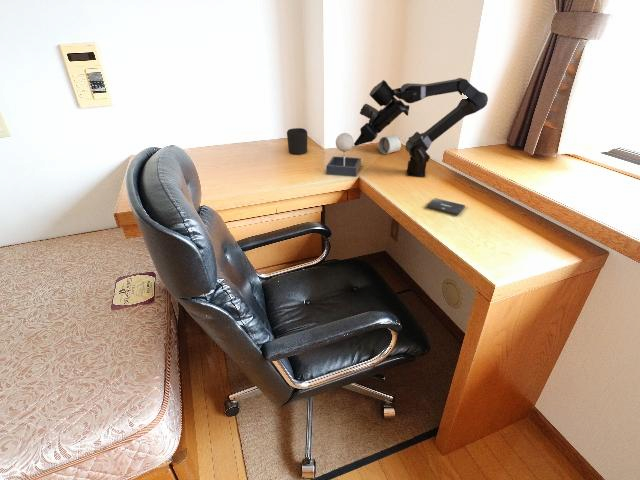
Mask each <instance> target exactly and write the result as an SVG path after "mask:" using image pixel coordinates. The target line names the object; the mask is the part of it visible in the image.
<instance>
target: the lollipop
mask: <svg viewBox="0 0 640 480" xmlns="http://www.w3.org/2000/svg"><path fill="white" fill-rule="evenodd" d="M354 143H355V142H354V137H353V136H352V135H351V134H350V133H348V132H343V133H340V134H339V135H338V136H337V137H336V139H335V146H336V148H337V150H339V151H340V152H342V153H343V157H344V159H343V166H345V157H346V152H349V151H351V149H352V148H353V147H354Z"/></svg>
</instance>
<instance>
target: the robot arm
mask: <svg viewBox="0 0 640 480" xmlns="http://www.w3.org/2000/svg"><path fill="white" fill-rule="evenodd" d="M457 92H458V93H459V95H460V96H461V95H462V93H463V94H464V95H466V96H467V97H468V98H467V99H462V98H461V99H462V100H461V99H460V101H459V102H458V104H457V106H455V108H453V109H452V110H451V111H449V112H448V113H447V114H445V115H444V117H442V118H441V119H439V120H438V121H437V122H436V123H434V124H433V125H432V126H431V127H430V128H428V129H426V131H424V132H421V133H420V132H419V131H415V132H414V133H413V134H412V136H409V137H407V138H408V140H407V141H406V142H405V146H404V147H405V151H406V152H407V153H408V154H409V157H410V158H409V160H407V168H406V173H407V176H409V177H419V178H420V177H422V178H425V177H426V168H427V163H428V162H429V161H430V159H431V156H430V155H429V154H428V152H427V151H428V150H429V148H430V146H431V145H432V144H433V142H434V141H436V140H437V139H438V138H439V137H440V136H442V135H443V134H444V133H446V132H447V131H448V130H450V129H451V128H453V127H454V126H455V125H457V124H458V123H459V122H460V121H461V120H463V119H464V118H465V117H468V116H470V115H473V114H476V113H477V112H479V111H481V110H483V109H484V108H485V107H486V106H487V105H488V101H489V97H488V95H487V93H485V92H482V91H480V90H478V88H476V87H474V86H473V84H471V83H470V82H469V80H467V78H463V77H458V78H455V79H448V80H441V81H437V82H429V83H403V84H402V85H401V86H400V87H398V88H392V87H390V85H389V83H388V82H387V81H386V80H384V79H383V80H381V82H379V83H377V84H376V85H375V86H374V87H373V88H372V89H371V90H370V92H369V96H370V97H371V99H373V100H374V101H375V103H376V104H377V105H378V106H379V107H383V106H384V107H383V108H381V109H380V110H378V109H377V108H375V107H374V106H372V105H370V104H368V103H364V104H363V105H362V107H361V109H360V111H359V114H360V115H361V116H363V117H366V118H367V119H368V122H366V123H364V125H362V126H361V127H360V129H359V131H360V134H359V135H358V137H357V139H356V140H355V142H354V144H353V146H355V147H357V146H361V145H364V144H367V143H372V142H374V140H376V139H377V137H378V134H380V133H381V132H382V131H384V129H386V128H387V126H389V125H391V123H392V122H394V121H395V120H396V119H397V118H399V116H400V115H401V114H402V113H404V114H405V115H406V116H409V111H410V105H409V104H414V103H416V102H420V101H422V100H424V99H426V98H428V97H435V96H438V95H439V96H440V95H445V94H450V93H457ZM403 101H404V102H405V103H407V104H408V105H407V104H405V103H404V102H403Z"/></svg>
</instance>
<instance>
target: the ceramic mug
mask: <svg viewBox="0 0 640 480" xmlns="http://www.w3.org/2000/svg"><path fill="white" fill-rule="evenodd" d="M401 147H402V140H401V138H400V136H398V135H389V136H382V137H381V138H380V139H379V141H378V146H377V150H379V151H380V153H381V154H383V155H387V154H391V153H396V152H398V151H400V149H401Z"/></svg>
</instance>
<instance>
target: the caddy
mask: <svg viewBox="0 0 640 480" xmlns="http://www.w3.org/2000/svg"><path fill="white" fill-rule="evenodd" d="M343 159H344V156H332V157H331V159H330V160H329V162H328V163H327V164H326V175H332V176H333V175H335V176H344V177H345V176H346V177H357V175H358V173H359V172H360V169H361V167H362V158H361V157H348V156H347V157H346V156H345V166H343Z"/></svg>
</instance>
